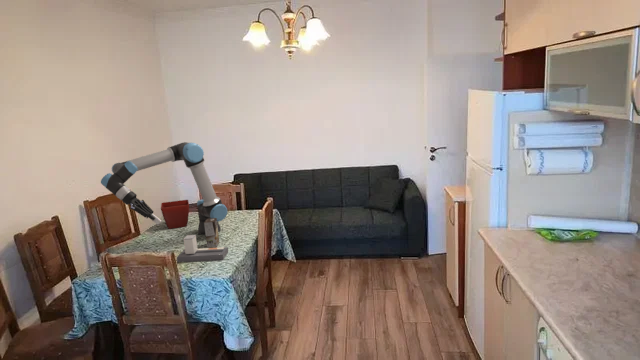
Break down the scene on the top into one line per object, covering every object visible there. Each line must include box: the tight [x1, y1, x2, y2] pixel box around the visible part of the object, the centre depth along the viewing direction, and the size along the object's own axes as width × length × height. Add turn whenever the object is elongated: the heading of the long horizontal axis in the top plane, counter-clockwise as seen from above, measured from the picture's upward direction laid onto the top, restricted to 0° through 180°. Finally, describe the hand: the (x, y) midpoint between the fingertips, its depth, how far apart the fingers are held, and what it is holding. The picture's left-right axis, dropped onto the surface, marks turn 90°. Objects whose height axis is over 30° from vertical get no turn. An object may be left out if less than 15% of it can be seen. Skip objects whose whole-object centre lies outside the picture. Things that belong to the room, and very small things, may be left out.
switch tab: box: [182, 234, 199, 254], centre depth 241 cm, size 5×6×9 cm
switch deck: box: [176, 246, 229, 263], centre depth 242 cm, size 26×12×3 cm, turn 88°
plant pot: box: [160, 199, 190, 230], centre depth 309 cm, size 19×19×17 cm
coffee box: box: [204, 218, 220, 248], centre depth 261 cm, size 9×6×16 cm
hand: (159, 222), depth 239 cm, fingers closed
